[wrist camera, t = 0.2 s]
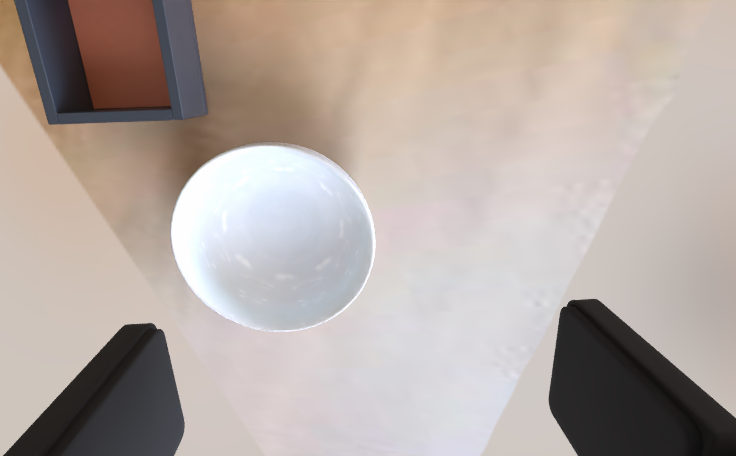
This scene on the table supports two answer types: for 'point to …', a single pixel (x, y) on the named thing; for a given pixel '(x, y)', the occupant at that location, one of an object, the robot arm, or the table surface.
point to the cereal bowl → (273, 236)
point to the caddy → (114, 59)
